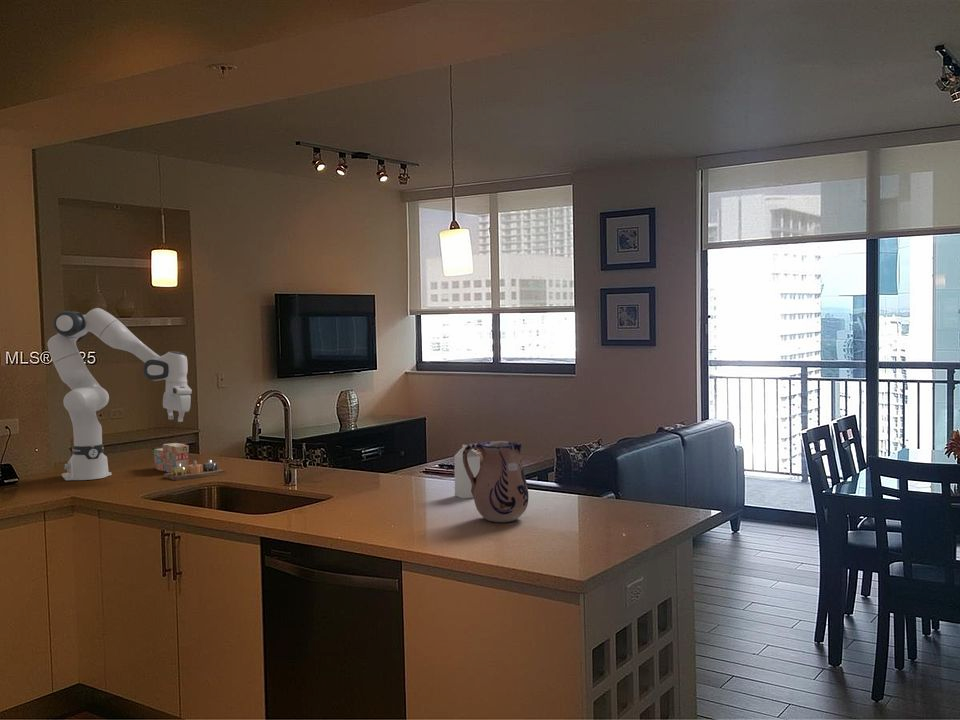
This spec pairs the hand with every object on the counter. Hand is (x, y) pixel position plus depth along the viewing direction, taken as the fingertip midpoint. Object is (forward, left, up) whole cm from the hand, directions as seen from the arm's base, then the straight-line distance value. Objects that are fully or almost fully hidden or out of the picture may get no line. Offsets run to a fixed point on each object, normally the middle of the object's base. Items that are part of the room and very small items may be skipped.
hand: (175, 420), depth 367 cm
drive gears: (+8, +5, -22) cm, 24 cm away
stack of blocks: (-13, +4, -24) cm, 28 cm away
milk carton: (+128, +54, -24) cm, 141 cm away
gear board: (+8, +5, -24) cm, 25 cm away
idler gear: (+8, +5, -22) cm, 24 cm away
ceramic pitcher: (+163, +34, -24) cm, 168 cm away
